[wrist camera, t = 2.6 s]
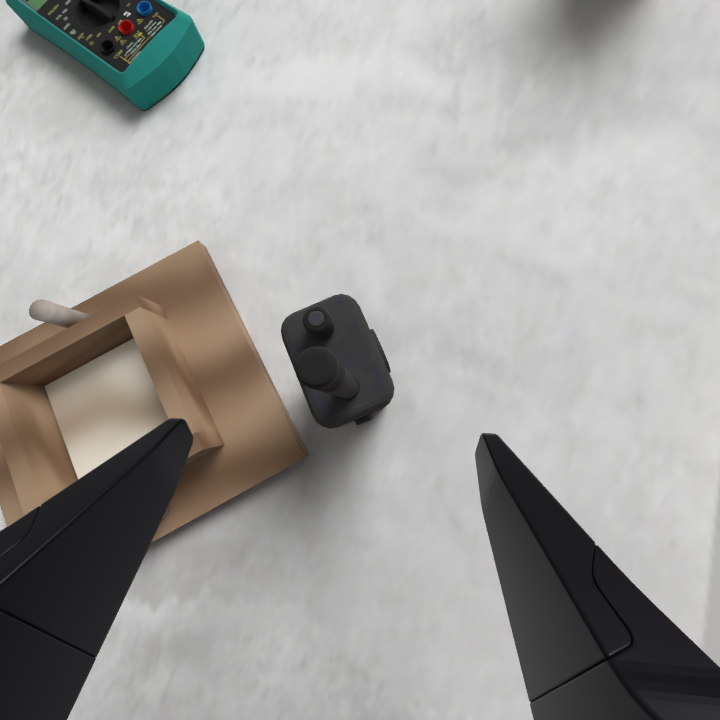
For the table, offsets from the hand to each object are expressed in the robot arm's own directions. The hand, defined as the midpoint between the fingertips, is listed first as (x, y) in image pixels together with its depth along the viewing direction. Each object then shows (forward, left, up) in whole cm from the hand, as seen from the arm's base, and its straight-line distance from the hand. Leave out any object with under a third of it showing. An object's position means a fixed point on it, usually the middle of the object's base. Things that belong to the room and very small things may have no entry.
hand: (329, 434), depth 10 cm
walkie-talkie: (+2, 0, -11) cm, 11 cm away
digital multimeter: (+25, +26, -11) cm, 38 cm away
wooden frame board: (-3, +14, -11) cm, 18 cm away
